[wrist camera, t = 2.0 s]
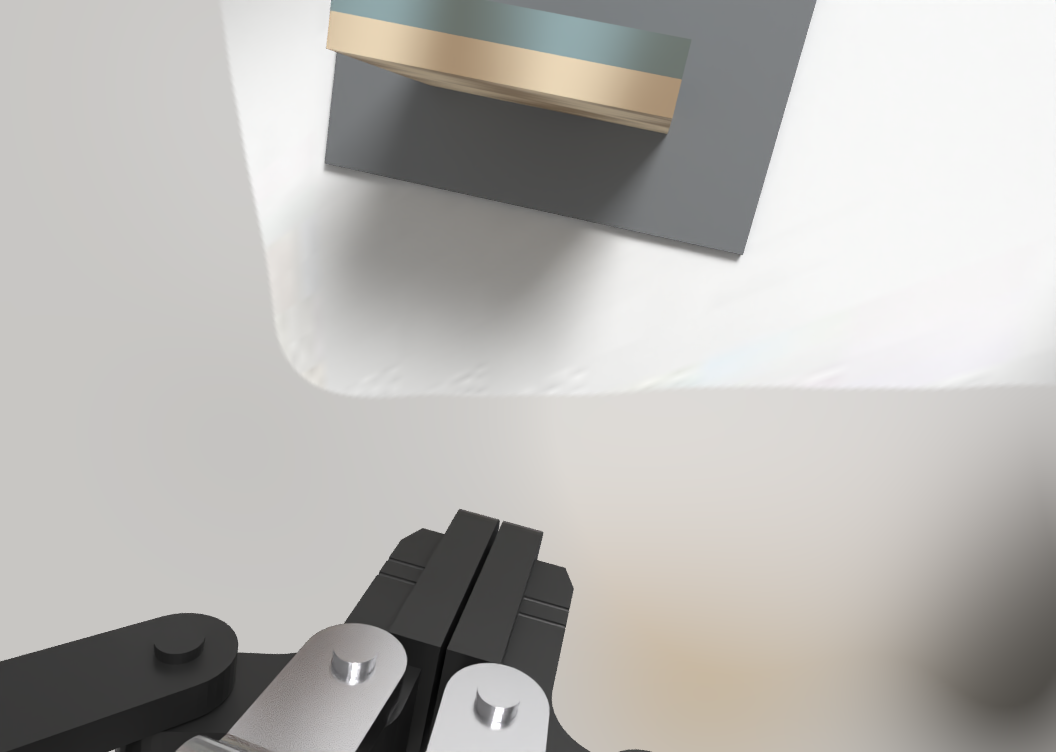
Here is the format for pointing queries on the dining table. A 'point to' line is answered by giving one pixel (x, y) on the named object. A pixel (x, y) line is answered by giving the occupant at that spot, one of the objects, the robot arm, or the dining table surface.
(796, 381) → the dining table surface
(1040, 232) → the dining table surface
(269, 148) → the dining table surface
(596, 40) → the board
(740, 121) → the mat
